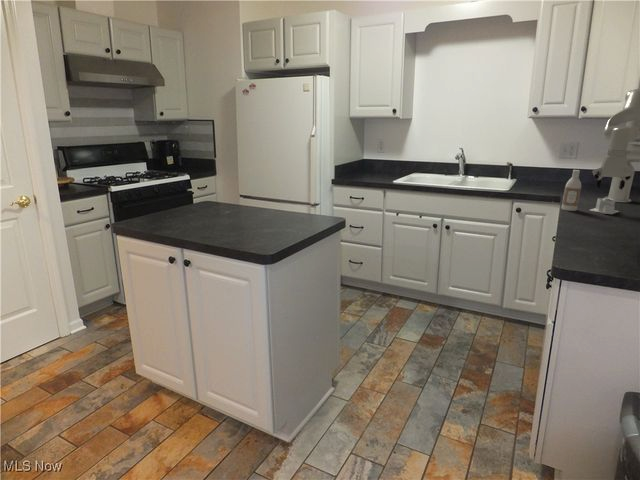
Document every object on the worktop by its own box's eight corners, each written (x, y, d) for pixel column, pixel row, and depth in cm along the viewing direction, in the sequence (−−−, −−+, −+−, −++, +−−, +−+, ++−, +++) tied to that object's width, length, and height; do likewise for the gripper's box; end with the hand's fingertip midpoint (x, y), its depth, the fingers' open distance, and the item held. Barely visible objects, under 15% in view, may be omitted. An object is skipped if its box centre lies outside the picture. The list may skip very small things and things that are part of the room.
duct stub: (596, 208, 223) (599, 196, 222) (618, 211, 216) (621, 199, 214) (589, 210, 217) (591, 198, 215) (611, 214, 210) (614, 201, 208)
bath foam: (560, 210, 217) (568, 170, 211) (561, 207, 223) (568, 168, 217) (576, 211, 214) (584, 171, 208) (576, 209, 219) (584, 170, 214)
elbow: (595, 208, 221) (597, 198, 219) (609, 209, 219) (611, 199, 217) (601, 213, 210) (603, 202, 208) (615, 214, 208) (618, 203, 206)
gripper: (635, 153, 209) (627, 188, 214) (594, 151, 215) (587, 185, 220) (640, 155, 202) (631, 191, 208) (598, 153, 208) (590, 188, 213)
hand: (609, 188), depth 214 cm, fingers open, 9 cm apart
